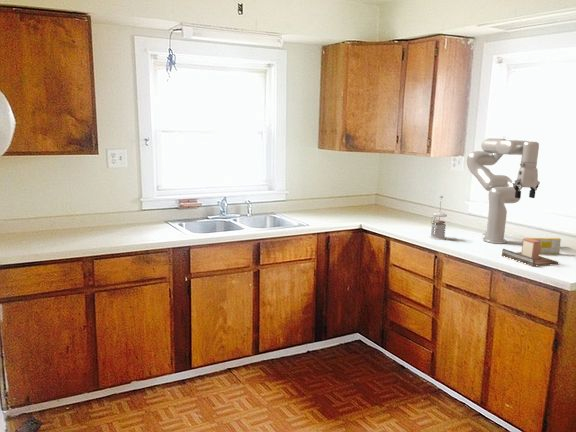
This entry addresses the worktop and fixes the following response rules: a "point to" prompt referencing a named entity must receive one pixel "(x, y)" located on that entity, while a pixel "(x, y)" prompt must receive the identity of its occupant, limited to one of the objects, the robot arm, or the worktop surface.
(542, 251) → the candy box
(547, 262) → the shelf board
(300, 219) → the worktop surface
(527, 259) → the rail
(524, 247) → the tea box
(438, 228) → the french press
